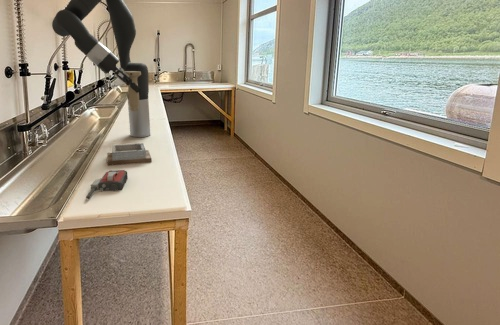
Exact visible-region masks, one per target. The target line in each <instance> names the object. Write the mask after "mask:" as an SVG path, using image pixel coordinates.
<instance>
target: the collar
mask: <svg viewBox="0 0 500 325" xmlns="http://www.w3.org/2000/svg"><path fill="white" fill-rule="evenodd" d="M146 150H147V149H146V147H145V145H144V143H143V142H142V143H141V142H139V143H125V144H124V143H123V144H112V145H111V153H112V158H113V161H117V160H131V159H144V158H146Z"/></svg>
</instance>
